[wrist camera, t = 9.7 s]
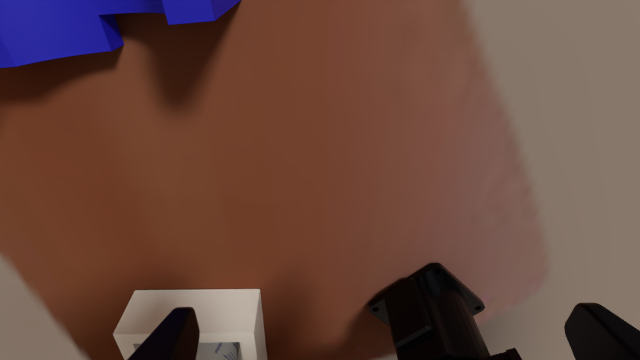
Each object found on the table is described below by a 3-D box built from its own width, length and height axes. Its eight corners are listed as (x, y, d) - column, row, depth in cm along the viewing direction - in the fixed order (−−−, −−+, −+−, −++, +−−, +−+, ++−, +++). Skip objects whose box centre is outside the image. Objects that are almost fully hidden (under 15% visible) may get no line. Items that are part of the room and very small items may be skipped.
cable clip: (4, 54, 18) (-117, 96, 13) (-54, -56, 15) (-230, -56, 10) (248, 32, 18) (224, 67, 13) (229, -82, 15) (189, -95, 10)
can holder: (259, 288, 27) (253, 332, 24) (267, 360, 32) (263, 404, 29) (135, 290, 27) (112, 334, 24) (161, 362, 31) (146, 406, 28)
